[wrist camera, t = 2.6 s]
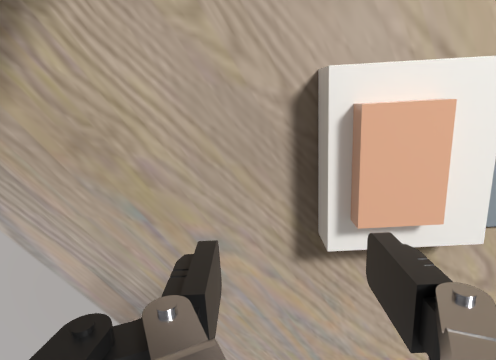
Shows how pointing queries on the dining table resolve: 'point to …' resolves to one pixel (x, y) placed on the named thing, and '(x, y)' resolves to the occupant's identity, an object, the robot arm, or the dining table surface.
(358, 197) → the terracotta tile
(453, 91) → the white flat block
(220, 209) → the dining table surface
